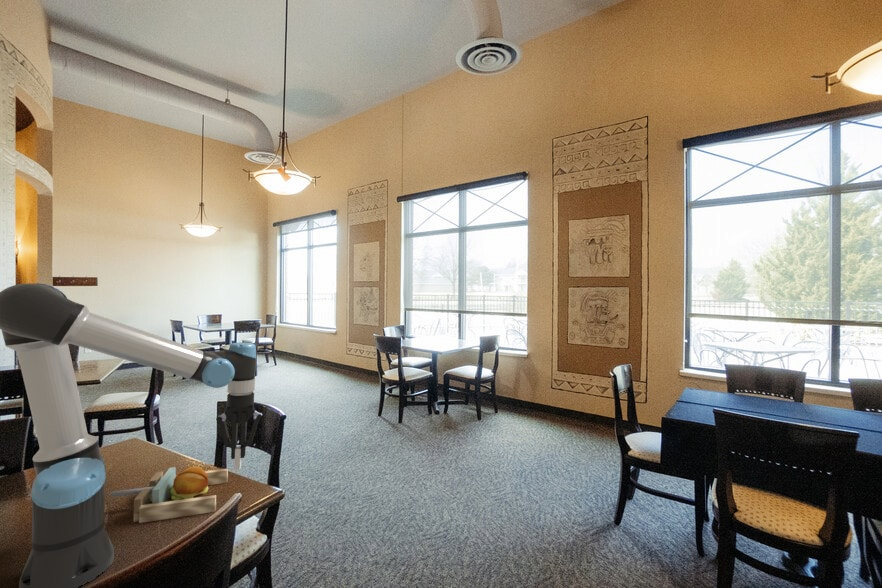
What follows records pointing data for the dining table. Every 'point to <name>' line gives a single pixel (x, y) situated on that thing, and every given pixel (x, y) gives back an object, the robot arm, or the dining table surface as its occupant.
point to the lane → (178, 507)
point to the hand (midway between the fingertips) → (237, 468)
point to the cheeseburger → (189, 484)
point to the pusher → (154, 488)
